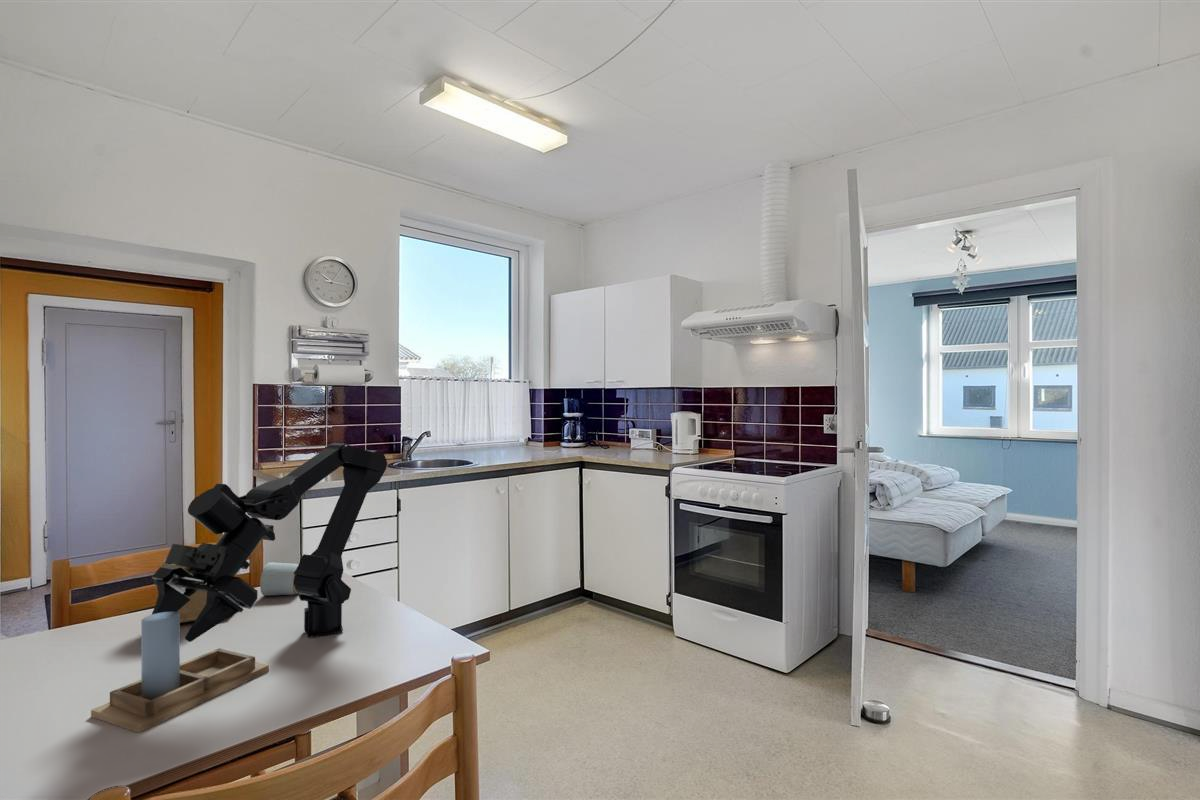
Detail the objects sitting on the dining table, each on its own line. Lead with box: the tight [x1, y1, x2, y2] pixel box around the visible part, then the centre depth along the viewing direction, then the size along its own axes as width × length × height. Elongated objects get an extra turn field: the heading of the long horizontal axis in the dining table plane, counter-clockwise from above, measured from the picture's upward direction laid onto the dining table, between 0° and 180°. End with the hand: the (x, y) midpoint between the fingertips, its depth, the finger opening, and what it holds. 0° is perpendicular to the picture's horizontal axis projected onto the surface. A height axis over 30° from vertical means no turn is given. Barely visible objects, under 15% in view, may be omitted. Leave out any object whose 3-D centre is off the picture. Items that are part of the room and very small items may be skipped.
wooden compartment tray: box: [90, 648, 270, 733], centre depth 97 cm, size 21×11×3 cm, turn 158°
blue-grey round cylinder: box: [140, 612, 181, 700], centre depth 93 cm, size 5×5×12 cm
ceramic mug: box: [259, 561, 299, 597], centre depth 147 cm, size 11×8×8 cm
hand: (167, 635), depth 94 cm, fingers open, 9 cm apart
